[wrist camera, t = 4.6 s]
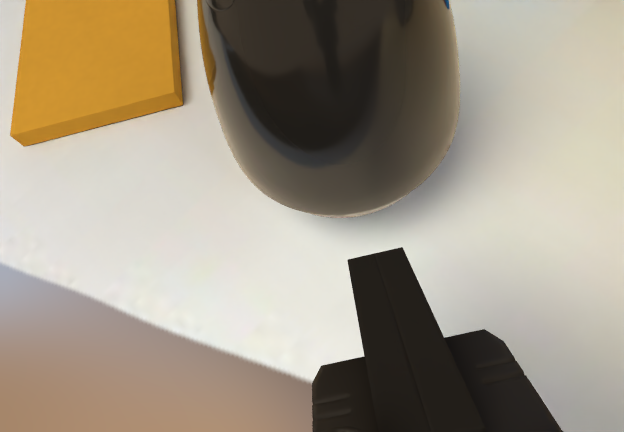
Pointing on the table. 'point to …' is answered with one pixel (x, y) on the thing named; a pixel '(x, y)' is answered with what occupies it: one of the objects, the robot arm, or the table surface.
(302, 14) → the black glossy oval body
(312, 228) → the table surface
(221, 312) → the table surface
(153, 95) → the mustard mat
